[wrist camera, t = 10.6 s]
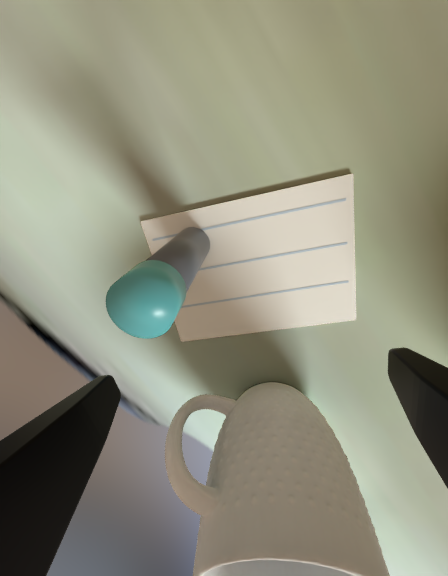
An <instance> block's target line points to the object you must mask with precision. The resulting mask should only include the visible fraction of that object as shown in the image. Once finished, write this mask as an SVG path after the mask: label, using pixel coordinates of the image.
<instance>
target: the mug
mask: <svg viewBox="0 0 448 576" xmlns="http://www.w3.org/2000/svg"><path fill="white" fill-rule="evenodd" d="M201 409H212V410H215V411H218V412H221V413H223V414H225V415H226V419H225V420H224V423H223V425H222V428H221V430H220V432H219V435H218V439H217V442H216V444H215V448H214V452H213V455H212V460H211V462H210V468H209V472H208V478H207V482H206V486H205V485H203V484H201V483H199V482H198V481H197V480H196V479H194V478H193V476H192V475H191V474H190V472H189V471H188V469H187V467H186V464H185V461H184V458H183V452H182V432H183V427H184V424H185V422H186V420H187V418H188V416H189V415H190V414H191V413H192V412H194V411H197V410H201ZM165 463H166V469H167V474H168V478H169V481H170V483H171V485H172V487H173V489H174V491H175V493H176V494H177V495H178V497H179V498H180V499H181V501H182V502H183V503H184V504H185V505H186V506H187V507H189V508H190V509H191V510H193V511H194V512H196V513H197V514H199V515H201V518H200V527H199V532H198V542H197V548H196V555H195V563H194V571H193V576H390V575H389V572H388V569H387V566H386V564H385V561H384V558H383V555H382V550H381V547H380V545H379V542H378V538H377V536H376V534H375V528H374V526H373V524H372V522H371V518H370V516H369V514H368V510H367V508H366V506H365V501H364V499H363V497H362V494H361V492H360V490H359V485H358V484H357V480H356V477H355V476H354V474H353V471H352V469H351V468H350V463H349V462H348V458H347V456H346V455H345V454H344V451H343V449H342V448H341V445H340V443H339V441H338V439H337V438H336V436H335V434H334V432H333V430H332V429H331V427H330V426H329V424H328V423H327V421H326V419H325V417H324V416H323V415H322V414H321V413H320V411H319V409H318V408H317V407H316V406H315V405H314V404H313V403H312V401H310V400H309V399H308V398H307V397H306V396H305V395H304V394H302V393H301V392H300V391H298V390H297V389H295V388H293V387H291V386H289V385H286V384H283V383H277V382H267V383H261V384H258V385H255V386H253V387H251V388H249V389H248V390H246V391H245V392H244V393H243V394H242V395H241V396H240V397H239V398H238V399H237V401H236V400H234V399H231V398H227V397H223V396H218V395H210V394H205V395H199V396H196V397H194V398H192V399H190V400H188V401H187V402H186V403H185V404H184V405H182V407H181V408H180V409H179V410H178V412H177V413H176V415H175V416H174V418H173V420H172V422H171V425H170V427H169V430H168V434H167V438H166V445H165Z"/></svg>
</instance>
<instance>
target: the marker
mask: <svg viewBox="0 0 448 576" xmlns="http://www.w3.org/2000/svg"><path fill="white" fill-rule="evenodd" d="M209 250H210V240H209V238H208V236H207V234H206V233H205V232H204V231H202V230H201V229H199V228H196V227H188V228H185V229H184V230H182V231H181V232H180V233H179V234H177V235H176V236H175V237H174V238H173V239H171V240H170V241H169V242H168V243H166V244H165V245H164V246H163V247H162V248H160V249H159V250H158V251H157V252H156V253H154V254H153V255H152V256H151V257H150V258H148V259H147V260H146V261H143V262H141V263H139V264H138V265H136V266H135V267H134V268H133V269H131V270H130V271H129V272H128V273H126V274H125V275H124V276H123V277H121V278H120V279H119V280H118V281H116V282H115V283H114V284H113V285H112V286H111V287H110V289H109V290H108V293H107V296H106V308H107V311H108V314H109V316H110V318H111V319H112V321H113V322H114V323H115V324H116V325H117V326H118V327H119V328H120V329H121V330H123V331H124V332H126V333H128V334H130V335H132V336H135V337H138V338H147V339H148V338H155V337H158V336H161V335H163V334H164V333H166V332H167V331H168V330H169V329H170V327H171V325H172V324H173V322H174V320H175V318H176V316H177V314H178V312H179V310H180V308H181V307H182V305H183V303H184V301H185V298H186V293H187V291H188V289H189V287H190V285H191V284H192V282H193V280H194V278H195V276H196V274H197V273H198V271H199V269H200V267H201V265H202V263H203V262H204V260H205V258H206V256H207V254H208V252H209Z"/></svg>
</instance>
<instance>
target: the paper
mask: <svg viewBox="0 0 448 576" xmlns="http://www.w3.org/2000/svg"><path fill="white" fill-rule="evenodd" d="M140 223H141V225H142V228H143V231H144V234H145V237H146V240H147V243H148V246H149V249H150V252H151V255H153V254H154V253H156V252H157V251H158V250H159V249H160V248H162V247H163V246H164V245H165V244H166V243H168V242H169V241H170V240H171V239H173V238H174V237H175V236H176V235H177V234H179V233H180V232H181V231H182V230H184V229H185V228H188V227H196V228H199V229H201V230H202V231H204V232H205V233H206V234H207V236H208V238H209V240H210V250H209V252H208V254H207V256H206V258H205V260H204V262H203V263H202V265H201V267H200V269H199V271H198V273H197V274H196V276H195V278H194V280H193V282H192V284H191V285H190V287H189V289H188V291H187V293H186V298H185V301H184V303H183V305H182V307H181V308H180V310H179V312H178V314H177V316H176V318H175V320H174V322H175V325H176V328H177V331H178V334H179V336H180V339H181V342H185V341H193V340H201V339H209V338H217V337H224V336H232V335H240V334H248V333H256V332H264V331H272V330H280V329H288V328H296V327H304V326H312V325H320V324H328V323H336V322H344V321H352V320H356V284H355V233H354V182H353V173H352V174H347V175H343V176H338V177H334V178H330V179H325V180H321V181H316V182H312V183H307V184H303V185H299V186H294V187H290V188H285V189H281V190H277V191H272V192H268V193H263V194H259V195H254V196H250V197H246V198H241V199H237V200H232V201H228V202H223V203H219V204H215V205H210V206H206V207H201V208H197V209H192V210H188V211H184V212H179V213H175V214H170V215H166V216H162V217H157V218H153V219H148V220H144V221H140Z"/></svg>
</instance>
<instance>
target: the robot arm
mask: <svg viewBox="0 0 448 576" xmlns="http://www.w3.org/2000/svg"><path fill="white" fill-rule="evenodd" d="M388 375H389V379H390V381H391V383H392V386H393V388H394V390H395V392H396V394H397V396H398V398H399V401H400V403H401V405H402V407H403V409H404V411H405V413H406V416H407V418H408V420H409V422H410V424H411V426H412V428H413V430H414V432H415V434H416V436H417V438H418V439H419V441H420V443H421V445H422V446H423V448H424V450H425V451H426V453H427V455H428V456H429V458H430V460H431V461H432V463H433V465H434V466H435V468H436V470H437V471H438V473H439V475H440V476H441V478H442V480H443V481H444V483H445V485H446V487H447V488H448V368H447V367H445V366H443V365H441V364H439V363H437V362H435V361H433V360H431V359H429V358H426V357H424V356H422V355H420V354H418V353H416V352H414V351H412V350H410V349H408V348H394V349H390V350H389V353H388ZM120 398H121V393H120V390H119V388H118V386H117V384H116V382H115V380H114V378H113V377H112V376H111V375H104V376H99V377H97V378H96V379H94V380H93V381H91V382H89V383H88V384H86V385H85V386H83V387H82V388H80V389H79V390H77V391H76V392H74V393H73V394H71V395H70V396H68V397H67V398H65V399H64V400H62V401H61V402H59V403H57V404H56V405H54V406H53V407H51V408H50V409H48V410H47V411H45V412H44V413H42V414H41V415H39V416H38V417H36V418H35V419H33V420H31V421H30V422H28V423H27V424H25V425H24V426H22V427H21V428H19V429H18V430H16V431H15V432H13V433H12V434H10V435H9V436H7V437H5V438H4V439H2V440H1V441H0V576H46V575H47V573H48V570H49V568H50V565H51V564H52V562H53V559H54V557H55V555H56V553H57V550H58V548H59V546H60V543H61V541H62V539H63V537H64V534H65V532H66V530H67V528H68V525H69V523H70V521H71V519H72V516H73V514H74V512H75V510H76V507H77V505H78V503H79V501H80V498H81V496H82V494H83V492H84V489H85V487H86V485H87V483H88V480H89V478H90V476H91V474H92V471H93V469H94V467H95V465H96V462H97V460H98V458H99V456H100V453H101V451H102V449H103V446H104V444H105V441H106V439H107V436H108V433H109V430H110V427H111V425H112V422H113V419H114V416H115V413H116V410H117V407H118V404H119V401H120Z"/></svg>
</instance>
